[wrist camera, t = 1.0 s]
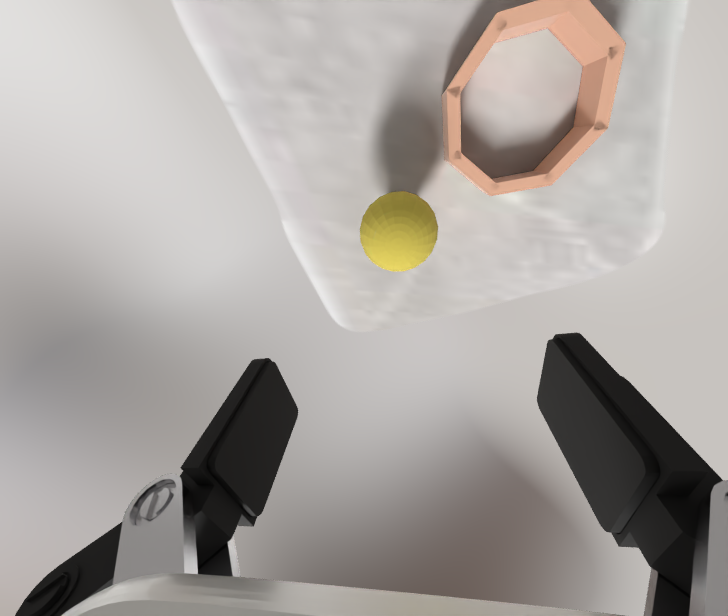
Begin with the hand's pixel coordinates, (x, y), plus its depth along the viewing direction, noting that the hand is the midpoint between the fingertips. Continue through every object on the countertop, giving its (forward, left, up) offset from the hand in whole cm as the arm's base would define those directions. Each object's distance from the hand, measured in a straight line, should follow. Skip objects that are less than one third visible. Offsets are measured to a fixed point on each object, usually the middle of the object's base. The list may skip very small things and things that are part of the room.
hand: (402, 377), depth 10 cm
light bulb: (-1, 0, -23) cm, 23 cm away
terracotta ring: (-8, +11, -23) cm, 27 cm away
